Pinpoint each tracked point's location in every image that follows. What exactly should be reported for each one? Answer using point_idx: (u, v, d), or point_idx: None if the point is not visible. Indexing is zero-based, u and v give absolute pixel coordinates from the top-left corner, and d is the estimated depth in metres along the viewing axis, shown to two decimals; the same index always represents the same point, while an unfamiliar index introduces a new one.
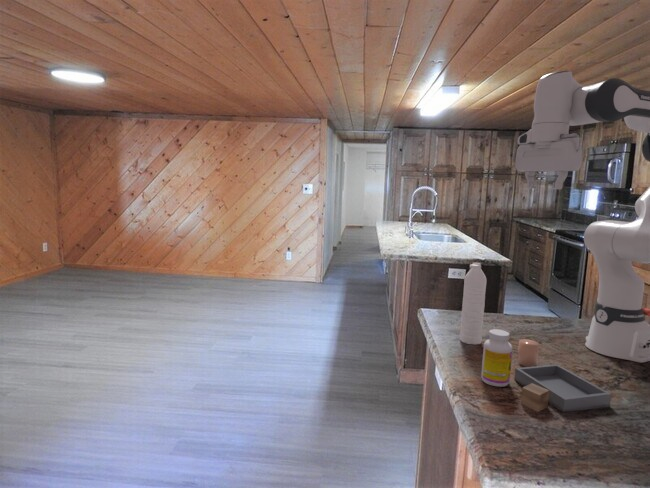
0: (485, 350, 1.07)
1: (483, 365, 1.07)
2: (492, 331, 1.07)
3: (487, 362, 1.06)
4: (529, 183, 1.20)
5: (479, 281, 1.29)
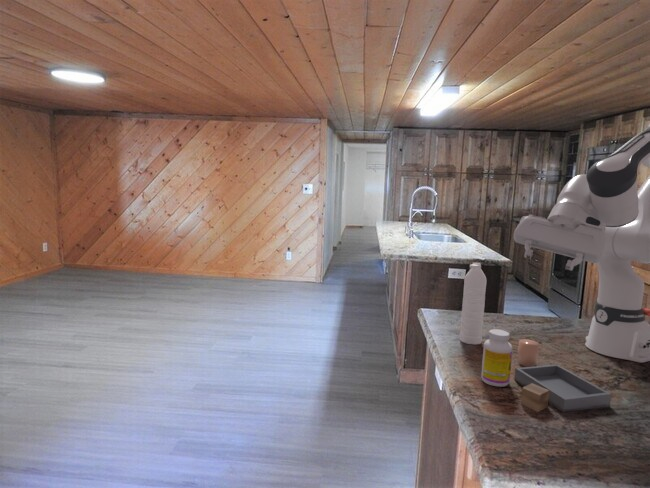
0: (485, 350, 1.07)
1: (483, 365, 1.07)
2: (492, 331, 1.07)
3: (487, 362, 1.06)
4: None
5: (479, 281, 1.29)
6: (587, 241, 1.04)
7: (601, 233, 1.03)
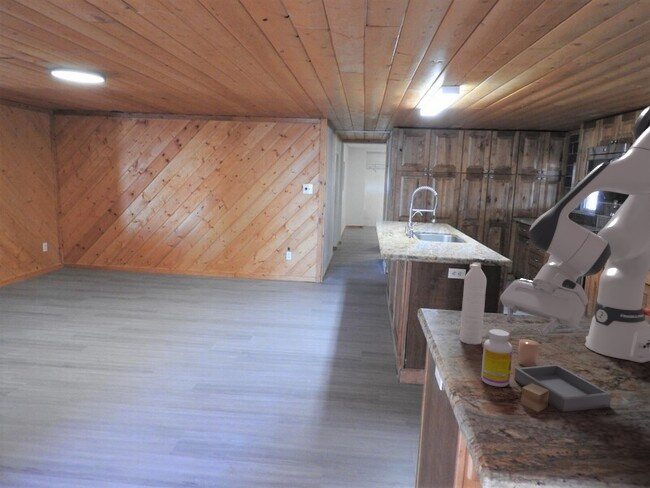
0: (485, 350, 1.07)
1: (483, 365, 1.07)
2: (492, 331, 1.07)
3: (487, 362, 1.06)
4: None
5: (479, 281, 1.29)
6: (561, 305, 1.05)
7: (575, 297, 1.03)
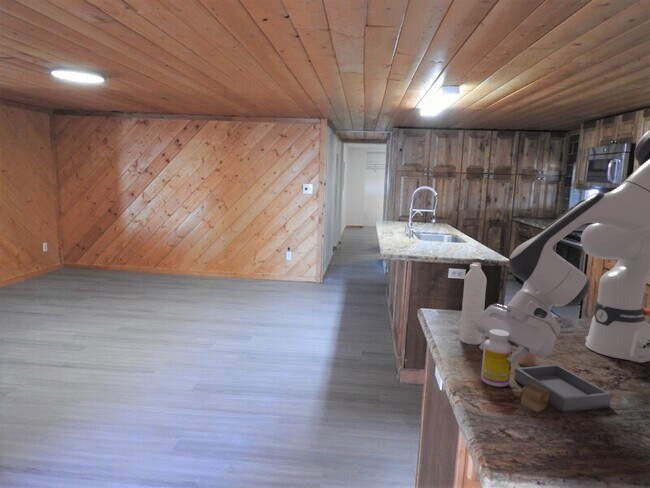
0: (485, 350, 1.07)
1: (483, 365, 1.07)
2: (492, 331, 1.07)
3: (487, 362, 1.06)
4: None
5: (479, 281, 1.29)
6: (532, 334, 1.02)
7: (545, 326, 1.01)
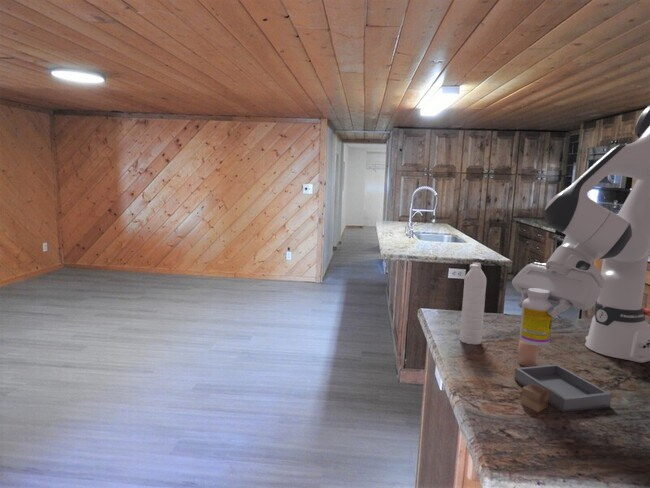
0: (523, 309, 1.04)
1: (522, 324, 1.04)
2: (531, 289, 1.04)
3: (526, 321, 1.03)
4: None
5: (479, 281, 1.29)
6: (575, 287, 0.99)
7: (589, 278, 0.97)
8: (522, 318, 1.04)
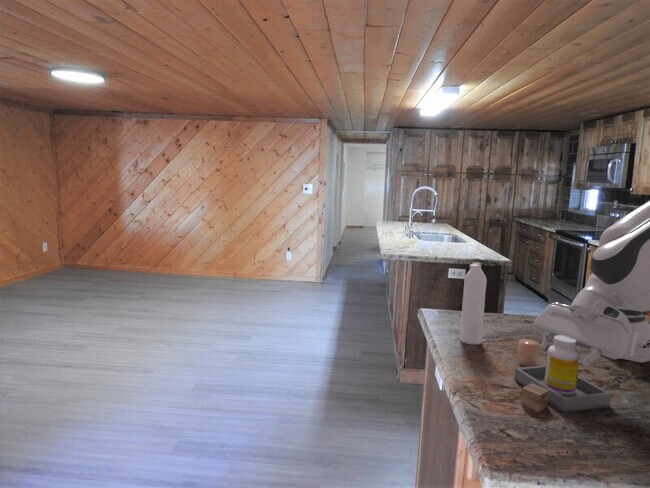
0: (550, 358, 1.02)
1: (547, 373, 1.03)
2: (557, 337, 1.02)
3: (552, 370, 1.01)
4: None
5: (479, 281, 1.29)
6: (603, 335, 0.98)
7: (618, 326, 0.96)
8: (548, 366, 1.03)
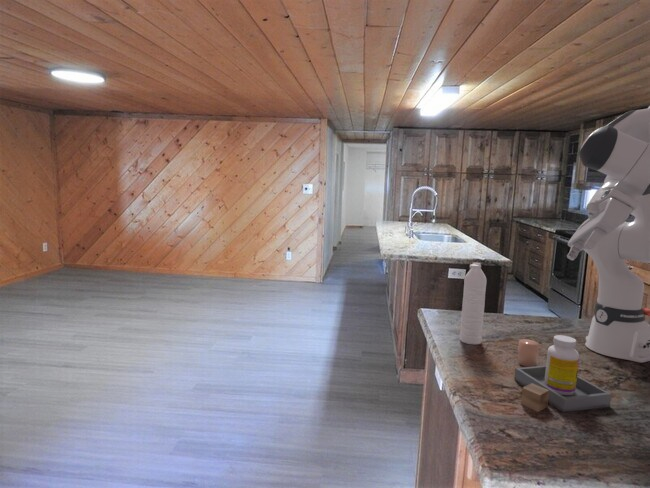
0: (550, 358, 1.02)
1: (547, 373, 1.03)
2: (557, 337, 1.02)
3: (552, 370, 1.01)
4: None
5: (479, 281, 1.29)
6: (600, 214, 0.99)
7: (608, 200, 0.97)
8: (548, 366, 1.03)
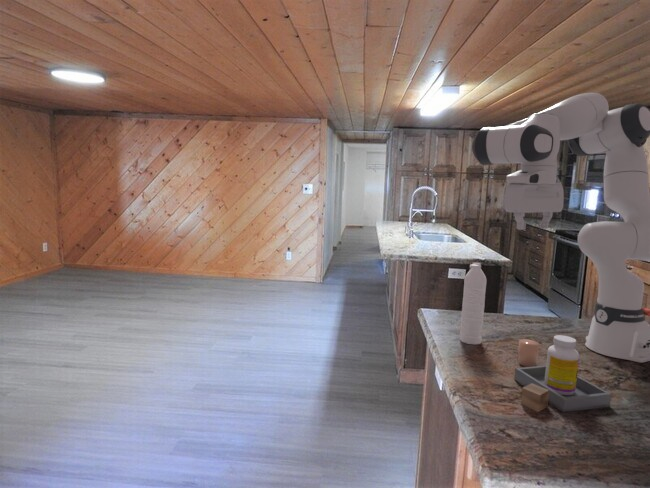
0: (550, 358, 1.02)
1: (547, 373, 1.03)
2: (557, 337, 1.02)
3: (552, 370, 1.01)
4: (524, 225, 1.14)
5: (479, 281, 1.29)
6: None
7: None
8: (548, 366, 1.03)
